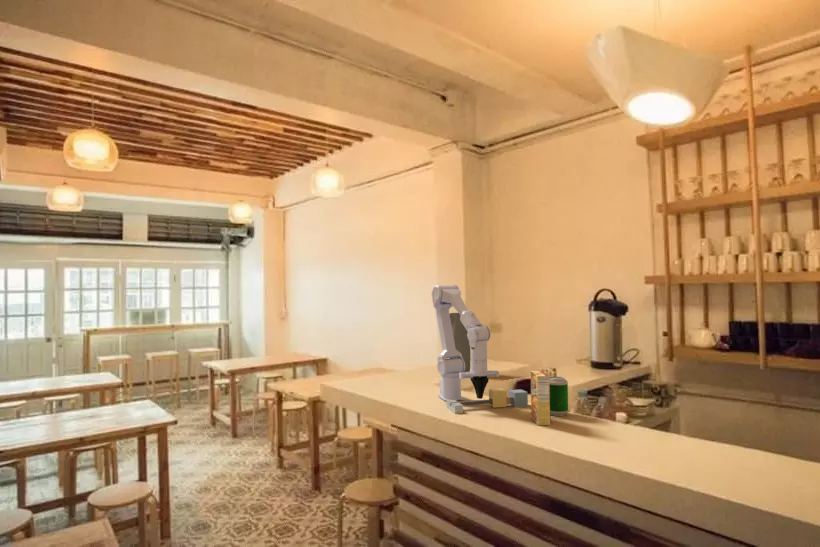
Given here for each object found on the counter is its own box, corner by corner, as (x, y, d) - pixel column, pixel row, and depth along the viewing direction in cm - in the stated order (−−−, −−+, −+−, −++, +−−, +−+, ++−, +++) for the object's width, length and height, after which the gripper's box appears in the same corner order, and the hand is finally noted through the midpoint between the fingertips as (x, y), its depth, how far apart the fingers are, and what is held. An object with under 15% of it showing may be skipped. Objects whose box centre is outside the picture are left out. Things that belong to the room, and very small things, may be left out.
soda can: (569, 417, 160) (568, 380, 160) (545, 416, 161) (545, 379, 161) (567, 411, 167) (566, 376, 167) (544, 410, 168) (543, 375, 169)
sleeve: (489, 405, 176) (488, 389, 176) (501, 404, 177) (501, 388, 178) (493, 407, 172) (493, 391, 172) (506, 406, 173) (506, 390, 174)
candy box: (530, 418, 159) (529, 370, 160) (543, 417, 159) (542, 370, 160) (537, 425, 150) (536, 375, 151) (551, 425, 150) (550, 375, 151)
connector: (504, 404, 178) (504, 390, 178) (521, 403, 180) (520, 389, 180) (511, 407, 173) (510, 393, 174) (527, 406, 175) (527, 392, 175)
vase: (476, 372, 246) (475, 313, 247) (461, 376, 237) (460, 314, 238) (457, 370, 254) (456, 312, 255) (442, 373, 245) (441, 313, 246)
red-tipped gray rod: (453, 409, 169) (453, 401, 169) (450, 407, 172) (450, 399, 172) (513, 404, 175) (513, 397, 175) (510, 402, 177) (510, 395, 178)
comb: (446, 407, 175) (446, 400, 175) (454, 406, 175) (454, 399, 175) (455, 413, 166) (454, 405, 166) (463, 412, 167) (463, 405, 167)
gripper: (464, 362, 168) (464, 401, 167) (502, 360, 172) (503, 399, 171) (456, 359, 175) (457, 397, 174) (494, 357, 178) (494, 394, 178)
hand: (479, 398), depth 173 cm, fingers closed
